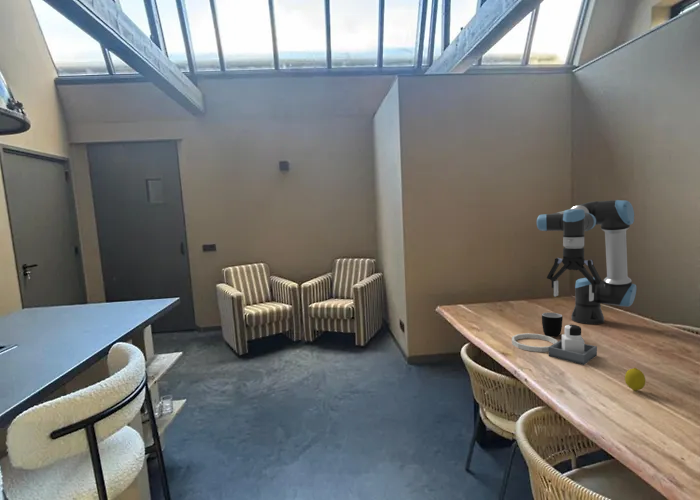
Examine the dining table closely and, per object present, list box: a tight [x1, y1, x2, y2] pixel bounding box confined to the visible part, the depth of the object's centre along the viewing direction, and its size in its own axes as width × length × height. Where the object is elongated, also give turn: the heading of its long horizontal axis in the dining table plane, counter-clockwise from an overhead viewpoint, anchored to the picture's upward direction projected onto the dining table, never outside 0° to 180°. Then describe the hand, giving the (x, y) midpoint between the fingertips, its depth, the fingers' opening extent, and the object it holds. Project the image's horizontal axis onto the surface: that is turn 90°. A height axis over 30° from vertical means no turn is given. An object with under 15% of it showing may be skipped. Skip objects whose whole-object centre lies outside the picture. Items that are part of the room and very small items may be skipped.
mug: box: [541, 312, 563, 338], centre depth 190 cm, size 12×9×10 cm
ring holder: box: [511, 332, 558, 353], centre depth 178 cm, size 19×19×2 cm
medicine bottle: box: [561, 324, 585, 354], centre depth 162 cm, size 7×7×12 cm
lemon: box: [624, 367, 646, 392], centre depth 130 cm, size 6×6×8 cm
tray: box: [548, 339, 598, 366], centre depth 162 cm, size 14×14×4 cm
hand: (573, 298), depth 160 cm, fingers open, 13 cm apart
